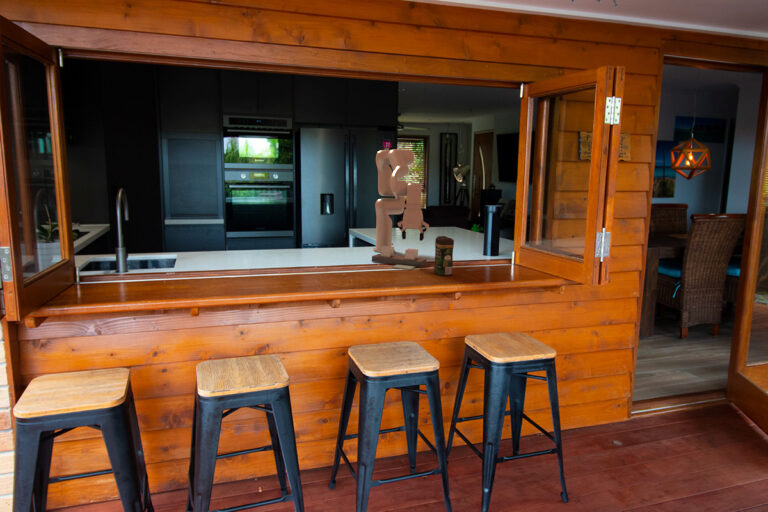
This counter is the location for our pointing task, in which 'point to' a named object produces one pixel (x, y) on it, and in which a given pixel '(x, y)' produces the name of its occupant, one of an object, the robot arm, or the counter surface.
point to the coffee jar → (443, 255)
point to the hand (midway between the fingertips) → (412, 239)
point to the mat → (403, 267)
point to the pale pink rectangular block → (411, 254)
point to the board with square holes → (399, 260)
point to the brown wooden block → (387, 251)
